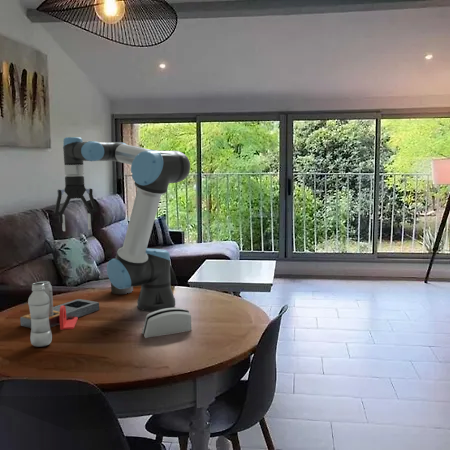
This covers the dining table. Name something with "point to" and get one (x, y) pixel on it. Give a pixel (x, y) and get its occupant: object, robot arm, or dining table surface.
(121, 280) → the robot arm
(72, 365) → the dining table surface
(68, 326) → the bracket
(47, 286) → the energy drink can
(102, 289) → the dining table surface
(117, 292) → the pillar candle
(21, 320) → the grey compartment tray
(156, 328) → the white plastic holder
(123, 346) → the dining table surface
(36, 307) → the plastic bottle
